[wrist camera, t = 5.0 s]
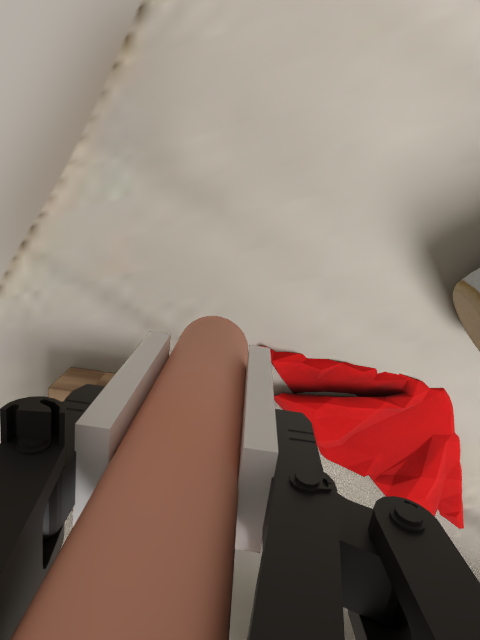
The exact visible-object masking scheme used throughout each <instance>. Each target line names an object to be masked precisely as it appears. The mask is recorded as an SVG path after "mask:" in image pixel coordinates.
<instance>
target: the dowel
mask: <svg viewBox="0 0 480 640" xmlns="http://www.w3.org/2000/svg"><path fill="white" fill-rule="evenodd" d="M247 359H248V344H247V340H246V337H245V335H244V334H243V332H242V331H241V329H240V328H239V327H238V326H237V325H236V324H234V323H233V322H231V321H230V320H228V319H225V318H222V317H218V316H207V317H202V318H199V319H197V320H195V321H193V322H192V323H191V324H189V325H188V326H187V327H186V328H185V330H184V331H183V333H182V335H181V336H180V338H179V340H178V342H177V344H176V345H175V347H174V349H173V351H172V352H171V354H170V356H169V358H168V360H167V361H166V363H165V365H164V367H163V368H162V370H161V372H160V374H159V376H158V377H157V379H156V381H155V383H154V384H153V386H152V388H151V390H150V392H149V393H148V395H147V397H146V399H145V400H144V402H143V404H142V406H141V407H140V409H139V411H138V413H137V415H136V416H135V418H134V420H133V422H132V423H131V425H130V427H129V429H128V431H127V432H126V434H125V436H124V438H123V439H122V441H121V443H120V445H119V447H118V448H117V450H116V452H115V454H114V455H113V457H112V459H111V461H110V463H109V464H108V466H107V468H106V470H105V471H104V473H103V475H102V477H101V479H100V480H99V482H98V484H97V486H96V487H95V489H94V491H93V493H92V495H91V496H90V498H89V500H88V502H87V503H86V505H85V507H84V509H83V511H82V512H81V514H80V516H79V518H78V519H77V521H76V523H75V525H74V527H73V528H72V530H71V532H70V534H69V535H68V537H67V539H66V541H65V543H64V544H63V546H62V548H61V550H60V551H59V553H58V555H57V557H56V559H55V560H54V562H53V564H52V566H51V567H50V569H49V571H48V573H47V575H46V576H45V578H44V580H43V582H42V583H41V585H40V587H39V589H38V591H37V592H36V594H35V596H34V598H33V599H32V601H31V603H30V605H29V607H28V608H27V610H26V612H25V614H24V615H23V617H22V619H21V621H20V623H19V624H18V626H17V628H16V630H15V631H14V633H13V635H12V637H11V639H10V640H229V629H230V614H231V599H232V584H233V569H234V554H235V539H236V524H237V509H238V494H239V492H238V475H239V461H240V447H241V433H242V419H243V405H244V391H245V377H246V366H247Z"/></svg>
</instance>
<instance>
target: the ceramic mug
mask: <svg viewBox="0 0 480 640" xmlns="http://www.w3.org/2000/svg"><path fill="white" fill-rule="evenodd" d="M453 302H454V305H455V309H456V312H457V314H458V316H459V319H460V321H461V323H462V325H463V327H464V328H465V330H466V332H467V334H468V335H469V337H470V338H471V340H472V341H473V343H474V344H475V346H476V347H477V348H478V350H479V351H480V268H479V269H477V270H475V271H473V272H471V273H470V274H469V275H467V276H466V277H465V278H463V279H462V280H460V281H459V282H458V283H457V284H456V285H455V288H454V291H453Z"/></svg>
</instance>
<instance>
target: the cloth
mask: <svg viewBox="0 0 480 640" xmlns="http://www.w3.org/2000/svg"><path fill="white" fill-rule="evenodd" d="M261 347H264V346H261ZM270 353H271V362H272V364H273V365H274V367H275V369H276V370H277V372H278V373H279V375H280V376H281V378H282V379H283V380H284V382H285V383H286V384H287V386H288V387H289V388H290V390H291V391H292V392H293V394H292V393H281V394H279V395H276V396H274V400H275V401H276V403H277V404H278V405H279V406H280V407H281V408H282V409H283V410H287V411H294V412H301V413H303V414H304V415H305V416H306V417H307V418H308V419H309V420H310V421H311V422H312V426H313V430H314V435H315V439H316V444H317V445H318V448H319V450H320V453H321V454H322V455H323V456H324V457H325V458H326V459H328V460H330V461H332V462H334V463H336V464H339V465H341V466H343V467H345V468H347V469H349V470H351V471H353V472H355V473H357V474H359V475H361V476H363V477H365V476H367V475H369V476H370V477H371V479H372V480H373V481H374V483H375V484H376V485H377V486H378V487H379V489H380V490H381V491H382V492H383V493H384V494H385V496H386V497H388V496H396V497H401V498H406V499H408V500H411V501H413V502H415V503H417V504H419V505H421V506H422V507H424V508H425V509H427V510H428V511H429V512H430V513H431V514H432V515H433V516H435V514H436V511H437V509H438V510H439V512H440V514H441V516H443V517H445V518H446V519H447V520H449V521H450V522H451V523H453V524H454V525H455V526H457V527H458V528H459V529H461V528H464V526H463V504H462V470H461V465H460V441H459V437H458V436H457V435H456V434H455V431H454V415H453V406H452V403H451V400H450V397H449V395H448V394H447V392H446V391H445V389H444V388H429V387H428V386H427V385H426V384H425V383H424V382H423V381H420V380H417V379H414V378H411V377H408V376H405V375H402V374H399V375H397V374H392V373H387V372H383V373H379V374H377V370H376V369H375V368H370V367H364V366H358V365H353V364H350V363H347V362H342V363H339V362H336V361H332V360H329V359H309V358H306V357H305V356H304V355H303V354H298V353H291V352H275V351H274V350H272V349H270ZM304 392H338V393H350V394H355V395H356V396H358V397H345V396H320V395H306V394H298V393H304Z"/></svg>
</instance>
